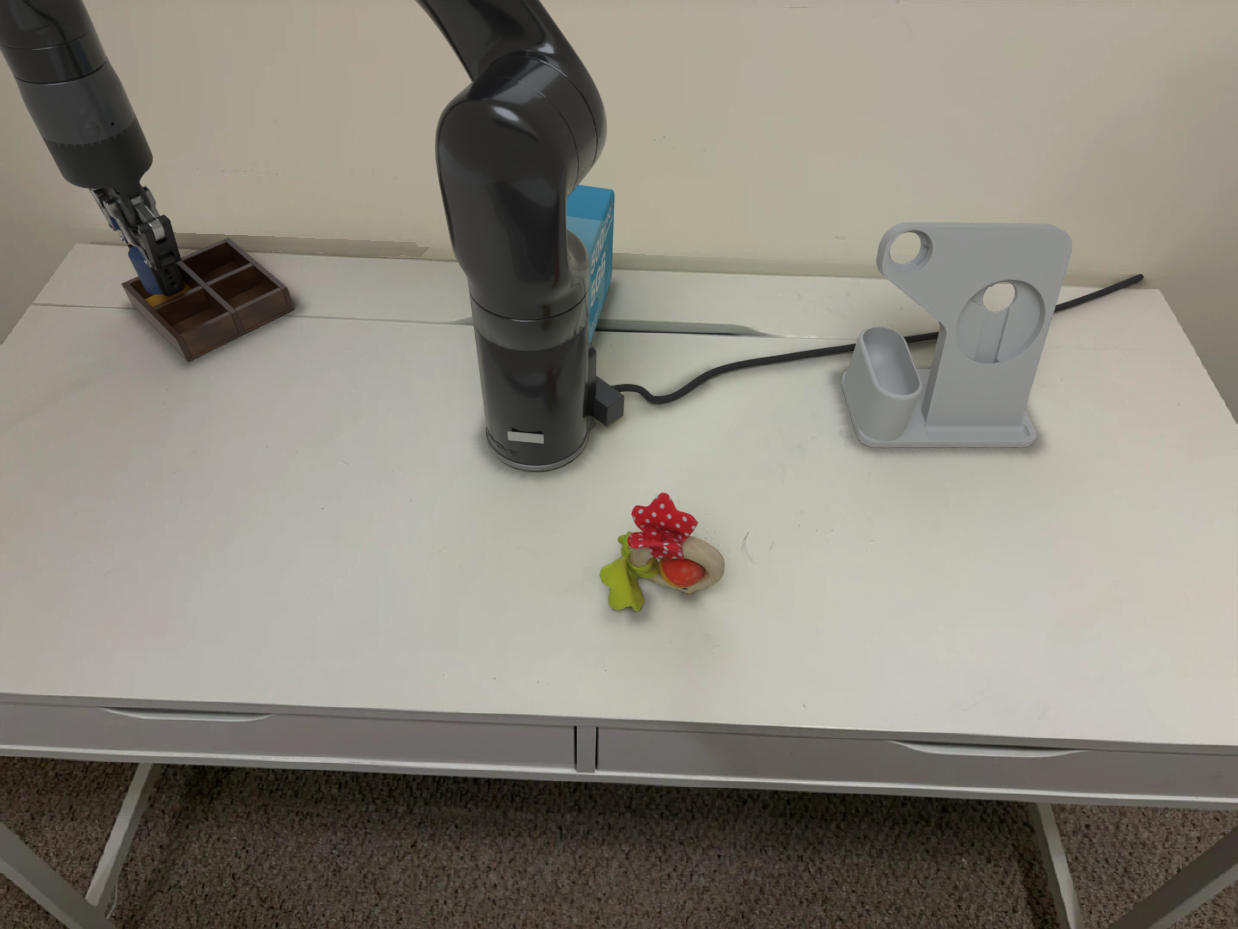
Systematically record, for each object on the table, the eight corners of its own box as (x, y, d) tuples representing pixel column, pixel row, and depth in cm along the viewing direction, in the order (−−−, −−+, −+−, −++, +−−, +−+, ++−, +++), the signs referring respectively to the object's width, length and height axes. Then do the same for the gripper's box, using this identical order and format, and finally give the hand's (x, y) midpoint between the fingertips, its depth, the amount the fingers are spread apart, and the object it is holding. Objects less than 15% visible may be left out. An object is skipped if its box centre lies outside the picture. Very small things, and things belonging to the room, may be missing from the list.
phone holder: (856, 447, 77) (916, 291, 63) (834, 372, 83) (884, 215, 69) (1038, 447, 77) (1136, 293, 64) (1002, 372, 84) (1084, 218, 70)
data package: (588, 352, 84) (589, 252, 74) (545, 345, 84) (541, 245, 75) (611, 280, 91) (615, 182, 82) (572, 274, 92) (571, 176, 83)
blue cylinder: (172, 268, 85) (156, 235, 82) (189, 284, 83) (174, 250, 80) (138, 283, 83) (121, 249, 80) (154, 299, 82) (138, 266, 79)
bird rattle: (686, 569, 70) (589, 535, 67) (759, 501, 62) (652, 460, 59) (683, 635, 66) (580, 602, 63) (761, 572, 58) (646, 531, 55)
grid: (237, 259, 91) (228, 237, 89) (294, 309, 86) (287, 287, 84) (132, 305, 86) (120, 283, 83) (187, 362, 81) (176, 339, 78)
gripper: (167, 134, 69) (234, 298, 82) (93, 75, 75) (166, 237, 88) (76, 166, 65) (161, 332, 78) (7, 102, 71) (96, 266, 85)
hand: (163, 281), depth 83 cm, fingers closed on blue cylinder, 3 cm apart
